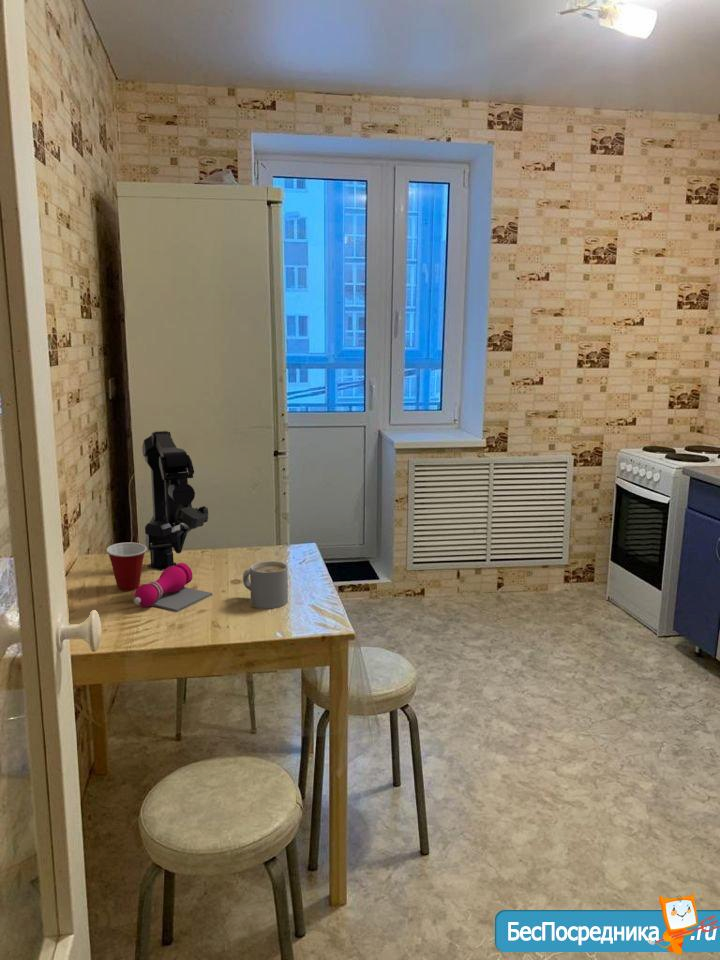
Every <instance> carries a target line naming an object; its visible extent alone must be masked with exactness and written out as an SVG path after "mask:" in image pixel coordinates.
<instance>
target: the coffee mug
mask: <svg viewBox="0 0 720 960" xmlns="http://www.w3.org/2000/svg"><path fill="white" fill-rule="evenodd" d="M288 573H289V572H288V565H287V564H286V563H284V562H282V561H278V560H277V561H276V560H265V561H263V560H262V561H258V562H256V563H253V564H251V565H250V568H247V569H246V570H244V571H243V574H242V582H243V585H244V587H245V588H246V589H247V590H248V591H250V603H251V606H253V607H255V608H257V609H264V610H265V609H266V610H270V609H271V610H272V609H278V608H281V607H284V606H286V605H287V604H288V603H289V602H288V601H289V599H288V598H289V594H288V593H289V587H288V586H289V585H288V584H289V582H288V579H289V578H288V577H289V576H288Z"/></svg>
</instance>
